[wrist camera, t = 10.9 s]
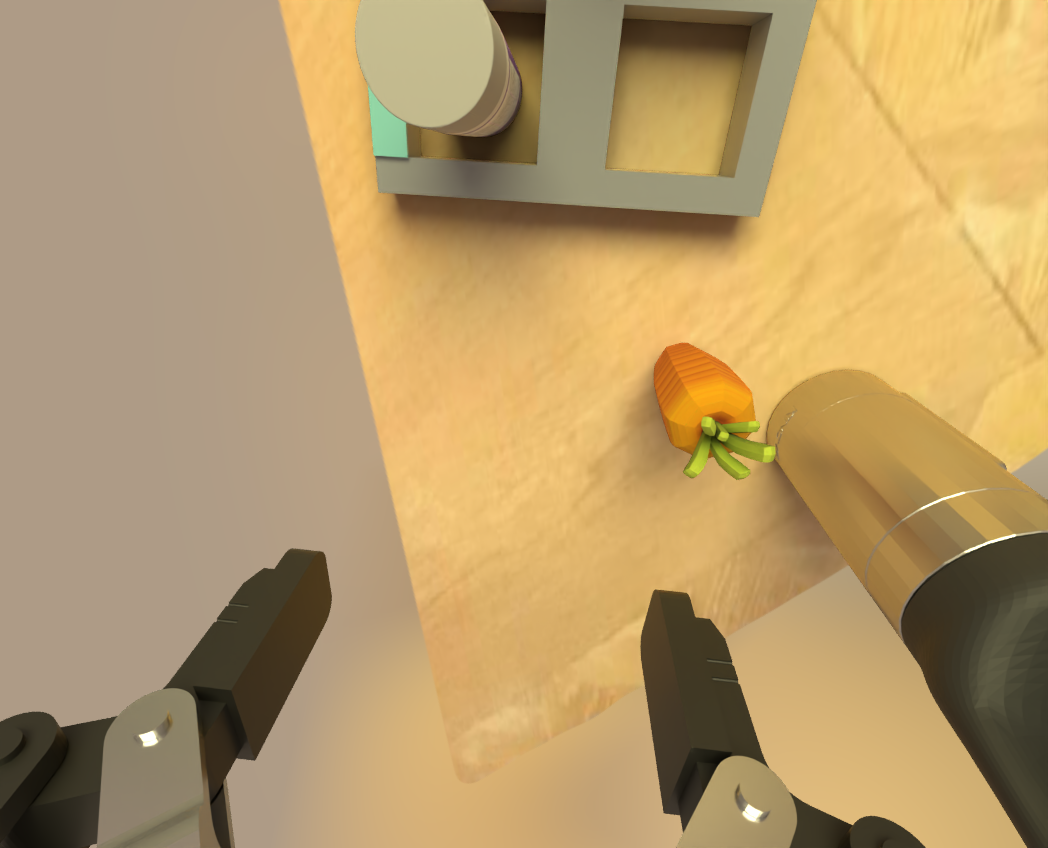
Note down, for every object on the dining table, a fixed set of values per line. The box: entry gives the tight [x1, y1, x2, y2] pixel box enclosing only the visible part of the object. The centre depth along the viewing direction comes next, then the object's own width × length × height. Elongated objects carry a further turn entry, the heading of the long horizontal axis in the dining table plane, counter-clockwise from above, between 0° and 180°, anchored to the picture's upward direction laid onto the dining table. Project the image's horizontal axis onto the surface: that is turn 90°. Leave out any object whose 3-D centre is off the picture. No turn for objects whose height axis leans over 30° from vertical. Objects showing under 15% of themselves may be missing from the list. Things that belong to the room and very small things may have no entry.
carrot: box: [654, 343, 776, 480], centre depth 29 cm, size 5×5×15 cm
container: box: [355, 0, 522, 137], centre depth 22 cm, size 5×5×15 cm
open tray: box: [368, 0, 817, 217], centre depth 27 cm, size 22×11×3 cm, turn 87°
